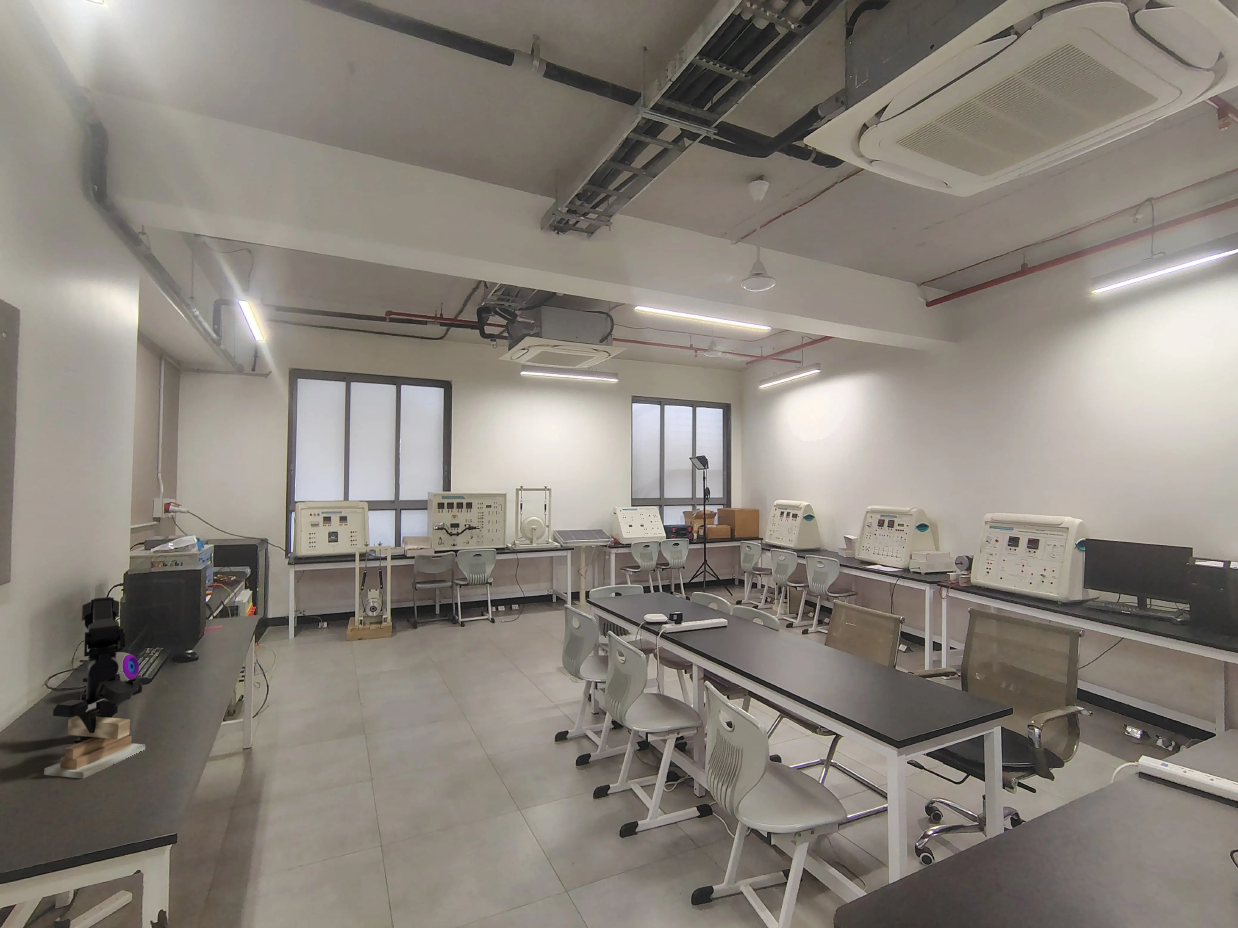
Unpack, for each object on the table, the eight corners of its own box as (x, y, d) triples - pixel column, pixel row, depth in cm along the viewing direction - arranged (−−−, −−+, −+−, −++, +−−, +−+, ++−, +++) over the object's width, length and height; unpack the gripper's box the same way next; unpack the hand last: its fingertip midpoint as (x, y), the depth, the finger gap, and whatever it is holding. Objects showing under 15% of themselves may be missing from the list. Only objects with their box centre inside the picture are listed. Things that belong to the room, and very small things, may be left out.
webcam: (124, 700, 195) (127, 656, 196) (79, 703, 192) (82, 659, 192) (144, 687, 208) (146, 646, 208) (102, 690, 204) (104, 649, 205)
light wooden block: (67, 734, 151) (68, 719, 152) (79, 729, 154) (80, 715, 155) (117, 738, 149) (118, 723, 149) (129, 734, 152) (130, 719, 152)
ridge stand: (44, 774, 144) (45, 748, 145) (109, 746, 160) (110, 723, 160) (83, 778, 143) (84, 752, 143) (145, 749, 158) (146, 726, 159)
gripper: (89, 685, 142) (86, 748, 141) (159, 663, 161) (157, 718, 160) (53, 682, 144) (49, 744, 143) (126, 661, 162) (124, 715, 161)
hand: (98, 730), depth 152 cm, fingers closed on light wooden block, 3 cm apart
